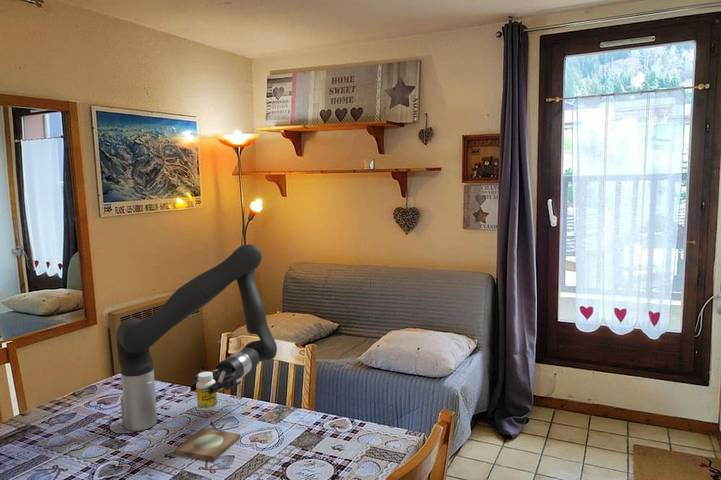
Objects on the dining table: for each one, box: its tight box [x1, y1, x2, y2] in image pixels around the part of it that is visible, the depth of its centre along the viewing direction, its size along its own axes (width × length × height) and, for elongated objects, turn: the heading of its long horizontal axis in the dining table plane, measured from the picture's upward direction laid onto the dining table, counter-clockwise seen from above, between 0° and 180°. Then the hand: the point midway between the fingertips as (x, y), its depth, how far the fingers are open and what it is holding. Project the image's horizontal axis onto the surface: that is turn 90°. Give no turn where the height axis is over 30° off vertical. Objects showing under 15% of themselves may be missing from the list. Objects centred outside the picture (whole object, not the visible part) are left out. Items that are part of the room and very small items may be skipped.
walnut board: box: [173, 427, 241, 462], centre depth 150 cm, size 13×13×1 cm
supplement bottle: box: [196, 371, 218, 411], centre depth 149 cm, size 5×5×10 cm
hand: (200, 389), depth 146 cm, fingers closed on supplement bottle, 5 cm apart
